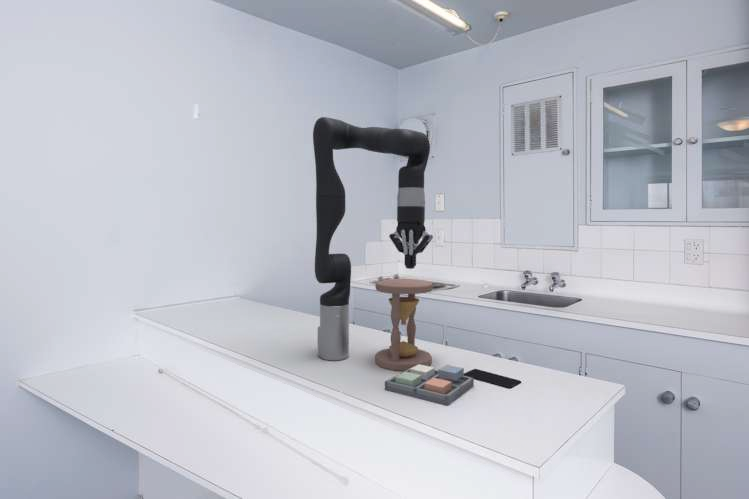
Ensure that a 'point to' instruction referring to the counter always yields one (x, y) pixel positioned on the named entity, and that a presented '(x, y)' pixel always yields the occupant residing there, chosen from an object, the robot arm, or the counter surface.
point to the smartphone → (492, 378)
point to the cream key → (423, 370)
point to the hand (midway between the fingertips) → (410, 268)
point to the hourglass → (402, 308)
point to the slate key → (451, 372)
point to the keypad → (420, 392)
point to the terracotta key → (438, 385)
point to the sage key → (408, 379)
